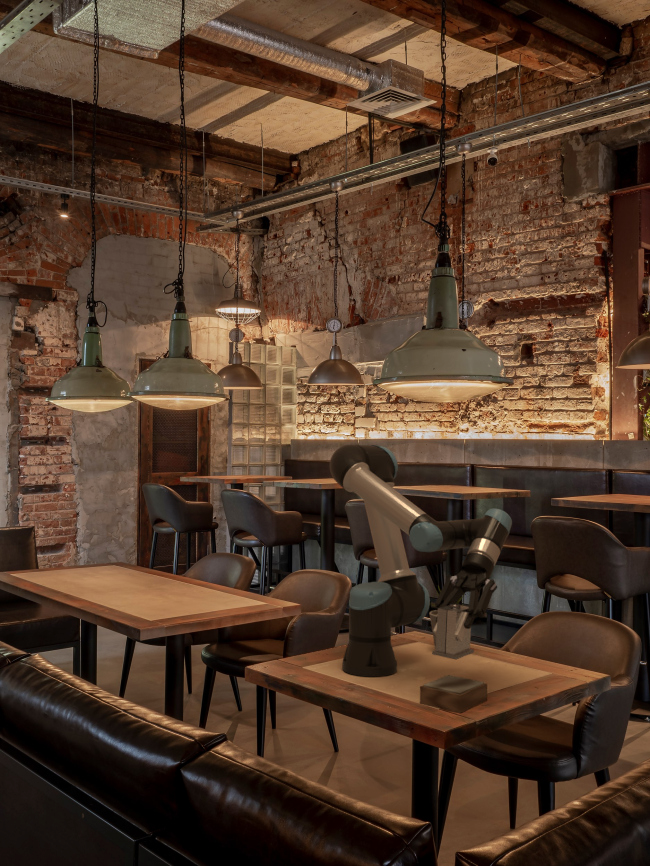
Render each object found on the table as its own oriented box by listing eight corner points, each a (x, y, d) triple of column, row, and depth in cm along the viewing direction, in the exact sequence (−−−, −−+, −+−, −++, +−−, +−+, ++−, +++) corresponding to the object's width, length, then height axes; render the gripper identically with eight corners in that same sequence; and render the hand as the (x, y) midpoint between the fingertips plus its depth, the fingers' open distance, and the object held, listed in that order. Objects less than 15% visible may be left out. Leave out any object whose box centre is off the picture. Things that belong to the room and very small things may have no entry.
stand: (420, 703, 191) (420, 684, 191) (447, 691, 201) (447, 673, 201) (460, 713, 184) (460, 693, 184) (487, 700, 194) (487, 682, 194)
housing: (431, 654, 191) (434, 605, 191) (450, 647, 198) (452, 600, 198) (455, 659, 187) (458, 609, 187) (473, 652, 194) (475, 604, 195)
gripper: (518, 573, 200) (487, 651, 186) (454, 566, 211) (420, 639, 198) (508, 554, 196) (476, 632, 182) (444, 548, 207) (409, 621, 194)
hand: (447, 636), depth 190 cm, fingers closed on housing, 5 cm apart
